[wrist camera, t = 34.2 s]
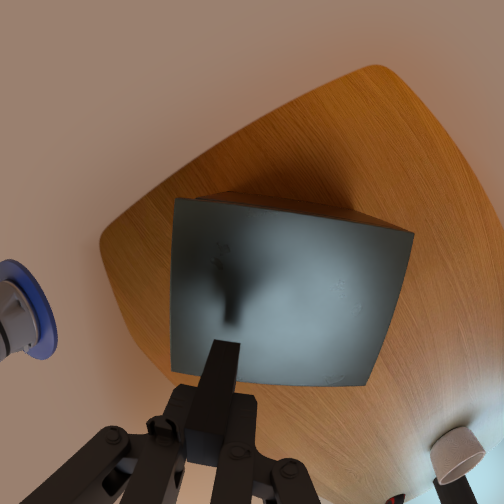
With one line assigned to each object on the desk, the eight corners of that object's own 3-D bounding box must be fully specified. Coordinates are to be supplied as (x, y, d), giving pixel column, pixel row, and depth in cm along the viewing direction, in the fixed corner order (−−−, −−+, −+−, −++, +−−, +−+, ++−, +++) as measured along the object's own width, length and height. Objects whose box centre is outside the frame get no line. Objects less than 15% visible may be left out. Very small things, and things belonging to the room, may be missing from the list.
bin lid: (173, 365, 19) (170, 371, 19) (178, 197, 16) (174, 198, 16) (362, 380, 20) (365, 385, 19) (409, 230, 17) (415, 233, 16)
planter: (472, 428, 39) (488, 455, 29) (434, 458, 42) (446, 487, 31) (462, 415, 38) (481, 446, 27) (418, 448, 41) (432, 482, 30)
